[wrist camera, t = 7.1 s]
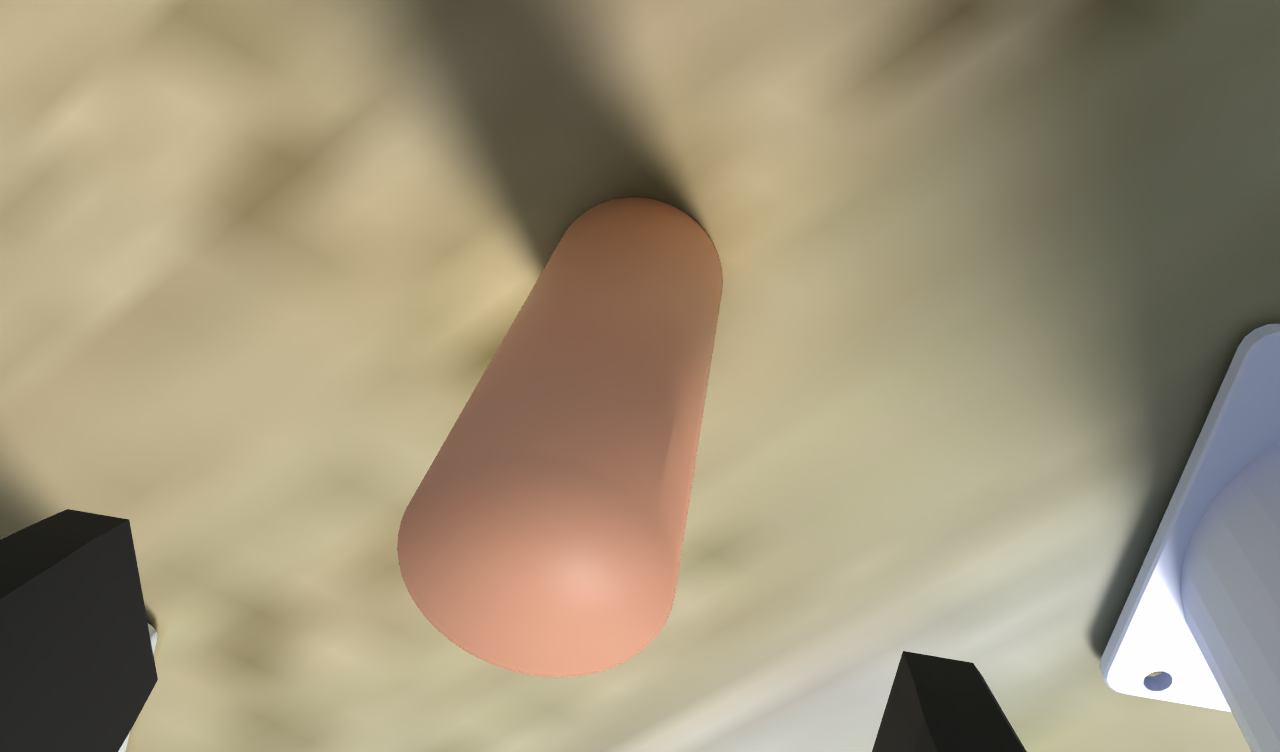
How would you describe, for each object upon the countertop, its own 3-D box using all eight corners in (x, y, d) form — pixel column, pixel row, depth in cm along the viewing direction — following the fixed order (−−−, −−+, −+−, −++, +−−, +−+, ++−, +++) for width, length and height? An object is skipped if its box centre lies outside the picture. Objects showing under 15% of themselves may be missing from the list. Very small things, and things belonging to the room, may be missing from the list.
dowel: (733, 209, 17) (692, 477, 10) (710, 367, 18) (660, 697, 11) (557, 185, 17) (393, 431, 10) (549, 342, 18) (400, 651, 11)
